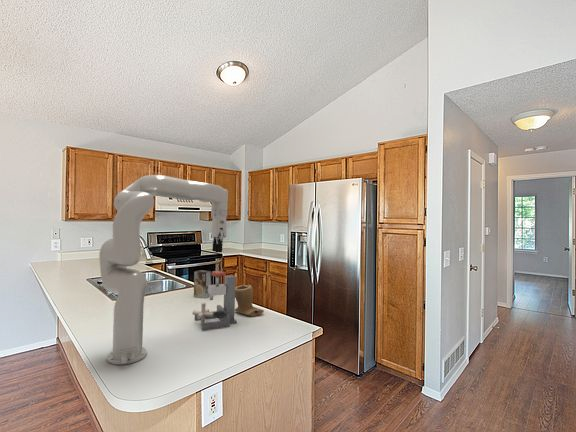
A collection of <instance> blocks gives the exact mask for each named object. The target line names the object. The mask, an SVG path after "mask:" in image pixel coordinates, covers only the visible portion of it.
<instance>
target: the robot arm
mask: <svg viewBox="0 0 576 432" xmlns="http://www.w3.org/2000/svg"><path fill="white" fill-rule="evenodd" d="M154 197H161V198H168V199H175V200H183V201H200V202H201V203H211V211H210V217H212V220H211V233H210V235H211V237H212V252H214V253H223V242H224V238H226V237H227V217H228V202H229V190H228V189H226V188H223V186H221V185H218V184H213V183H208V182H201V181H195V180H189V179H183V178H178V177H173V176H168V175H163V174H149V175H144V176H141V177H139V178H138V179H136V180H135V181H134V182H132V183H131V184H130V185H128V186H127V187H125V188H124V189H123V190H121V191H120V192H118V193H117V194H116V196H115V198H114V199H113V200H114V201H113V206H114V208H115V209H116V211H117V212H116V214H115V217H114V219H113V221H112V222H113V223H112V238H110V239H107V240H105V241H104V243H103V244H102V245H101V247H100V250H99V267H100V269H99V270H100V278H101V279H100V280H101V284H102V286H103V288H104V289H105V290H106V291H108V292H110V293H113V294H117V298H116V299H115V302H114V307H113V326H112V327H113V329H112V333H113V334H112V351H111V352H110V353H109V354H108V355H107V362H108V363H110V364H111V365H116V366H117V365H120V366H121V365H122V366H123V365H129V364H134V363H136V362H139V361H140V360H142V359H144V358H145V357H146V356H147V355H148V352H147V349H146V347H143V337H144V335H143V334H144V333H143V331H144V306H145V305H144V303H145V295H146V291H147V287H148V279H147V276H146V275H145V274H144V273H143V272H141V271H140V270H137V269H134V268H130V267H132V266H135V265H137V264H138V263H139V261H140V260H141V257H142V251H141V250H142V249H141V248H142V247H141V236H140V233H141V232H140V228H141V223H142V221H143V219H144V218H145V216H146V215H148V213H149V212H151V211H152V210H153V207H154V204H155V199H154Z"/></svg>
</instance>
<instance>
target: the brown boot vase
mask: <svg viewBox="0 0 576 432" xmlns="http://www.w3.org/2000/svg"><path fill="white" fill-rule="evenodd" d="M253 298H254V288H253V287H252V285H251V284H248V285H245V284H243V285H239V286H235V302H236V303H237V307H235V313H238V314H242V315H245V316H249V317H258V316H260V315H262V314H264V312H265V310H264V309H261V308H257V307H256V306H253Z"/></svg>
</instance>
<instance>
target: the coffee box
mask: <svg viewBox="0 0 576 432" xmlns="http://www.w3.org/2000/svg"><path fill="white" fill-rule="evenodd" d="M193 274H194V276H193V298H200V299H209V298H210V295H209V294H208V285H212V271H211V270H203V269H202V270H201V269H200V270H195V271H194V273H193Z"/></svg>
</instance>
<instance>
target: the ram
mask: <svg viewBox="0 0 576 432" xmlns="http://www.w3.org/2000/svg"><path fill="white" fill-rule="evenodd" d="M224 273H225V272H224V271H222V270H213V271H211V277H215V284H211V285H208V294H209V295H210V297H209V301H213V300H214V296H224V295H225V294H226V286H225V285H224V283H220V277H223V276H225V275H224Z"/></svg>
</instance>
